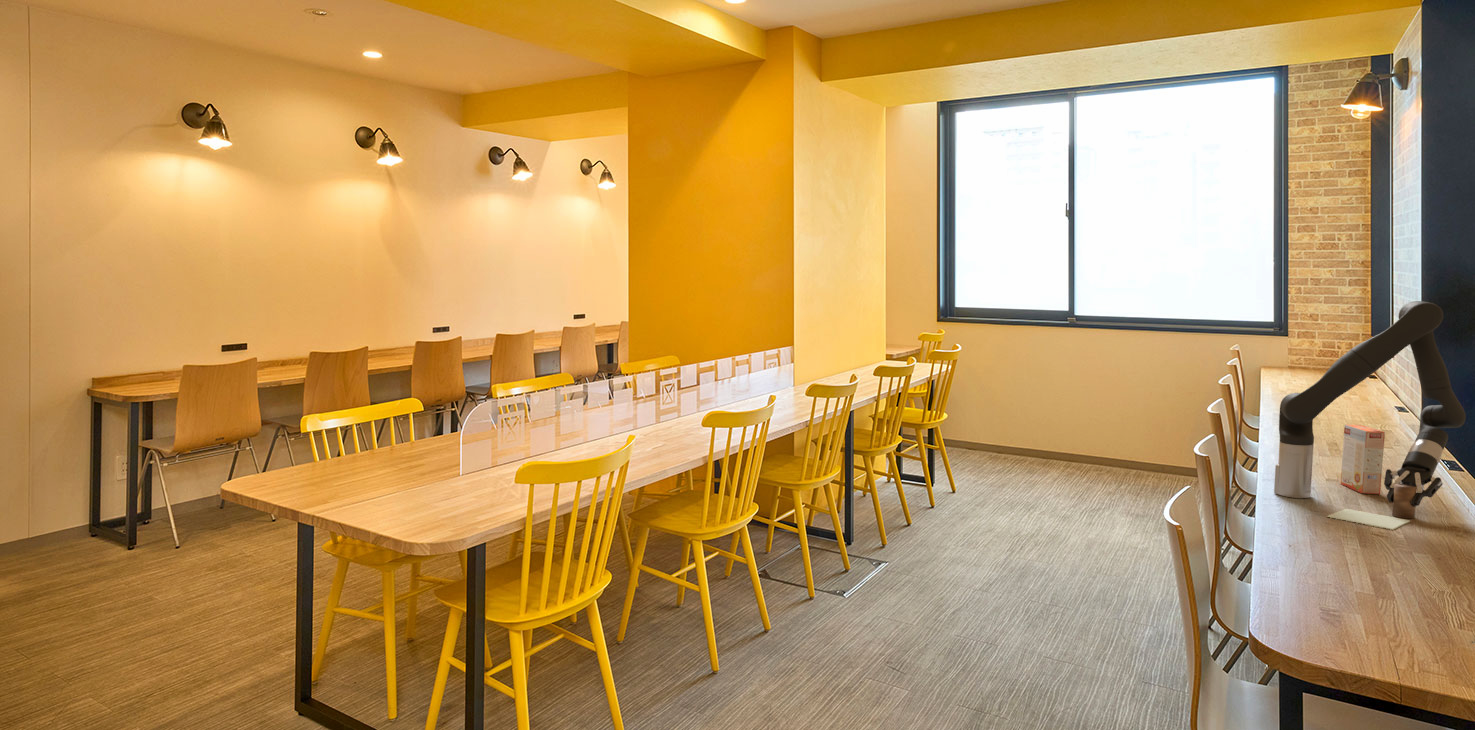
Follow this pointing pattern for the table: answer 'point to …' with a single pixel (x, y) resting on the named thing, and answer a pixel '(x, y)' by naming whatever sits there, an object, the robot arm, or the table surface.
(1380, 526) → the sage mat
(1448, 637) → the table surface
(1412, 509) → the walnut cylinder
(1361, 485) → the cracker box
